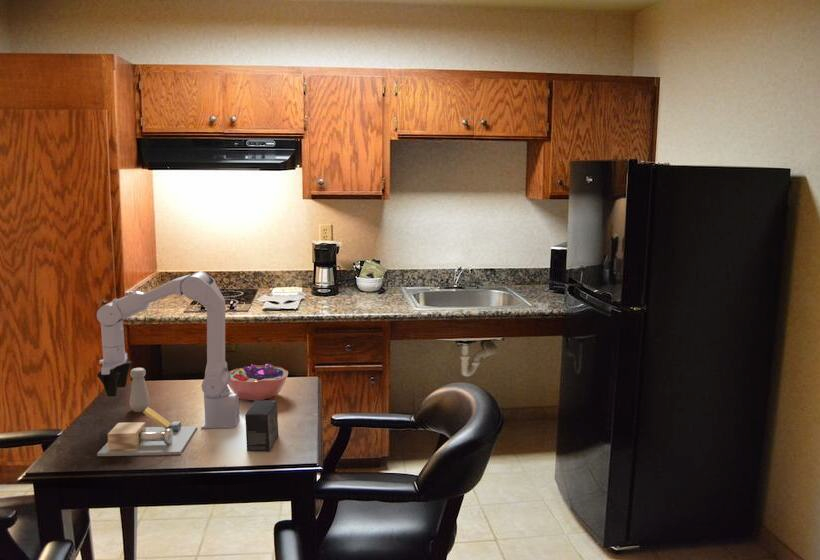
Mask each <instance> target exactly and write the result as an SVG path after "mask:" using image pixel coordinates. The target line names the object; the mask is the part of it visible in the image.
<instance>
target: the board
mask: <svg viewBox="0 0 820 560" xmlns="http://www.w3.org/2000/svg"><path fill="white" fill-rule="evenodd" d="M145 428H146V432H165V430H166V429H165V428H163V427H162V426H148V427H147V426H145ZM197 431H198V426H195V425H193V426H191V425H190V426H181V429H180V430H179V431H178V432H173V440H172V443H171V444H165V443H164V441H150V442H143V443H142V445H141V446H140V447H139V448H138V449H137V451H109V446H108V441H107V442H106V443H105V444H104V445H103V446H102V448H100V450H99V451H97V453H96V456H97V457H119V456H121V457H122V456H126V457H129V456H130V457H131V456H166V455H168V456H172V454H173V455H175V454H180V455H182V453H183V452H184V451H185V449H186V447H187V445H189V442H190V441H191V439H192V438H193V437H194V435H195V433H196V432H197Z"/></svg>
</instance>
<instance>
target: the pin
mask: <svg viewBox="0 0 820 560" xmlns="http://www.w3.org/2000/svg"><path fill="white" fill-rule="evenodd" d="M138 436H139V442H150V441H164V443H165V444H171V443H172V440H173V430H172V429H166V430H165V432H140V433H139V434H138Z"/></svg>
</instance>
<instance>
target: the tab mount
mask: <svg viewBox="0 0 820 560" xmlns="http://www.w3.org/2000/svg"><path fill="white" fill-rule="evenodd" d="M171 423H172V424H171V425H170V429H172V430H173V432H178V431H179V430H180V429H181V427H182V424H181V423H182V421H181V420H179V421H178V420H174V421H172V422H171Z"/></svg>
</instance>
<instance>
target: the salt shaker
mask: <svg viewBox="0 0 820 560" xmlns="http://www.w3.org/2000/svg"><path fill="white" fill-rule="evenodd" d="M129 373H130V374H129V376H130V377H131V378H132V381H131V389H130V397H129V406H130V409H132V411H133V413H143V412H144V411H145V409H146V408H147V407H150V403H151V399H150V396H149V392H148V388H147V383H146V380H145V376H146V373H147V372H146V369H145V368H144V367H135V368H134V367H133V368H131V370H129Z"/></svg>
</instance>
